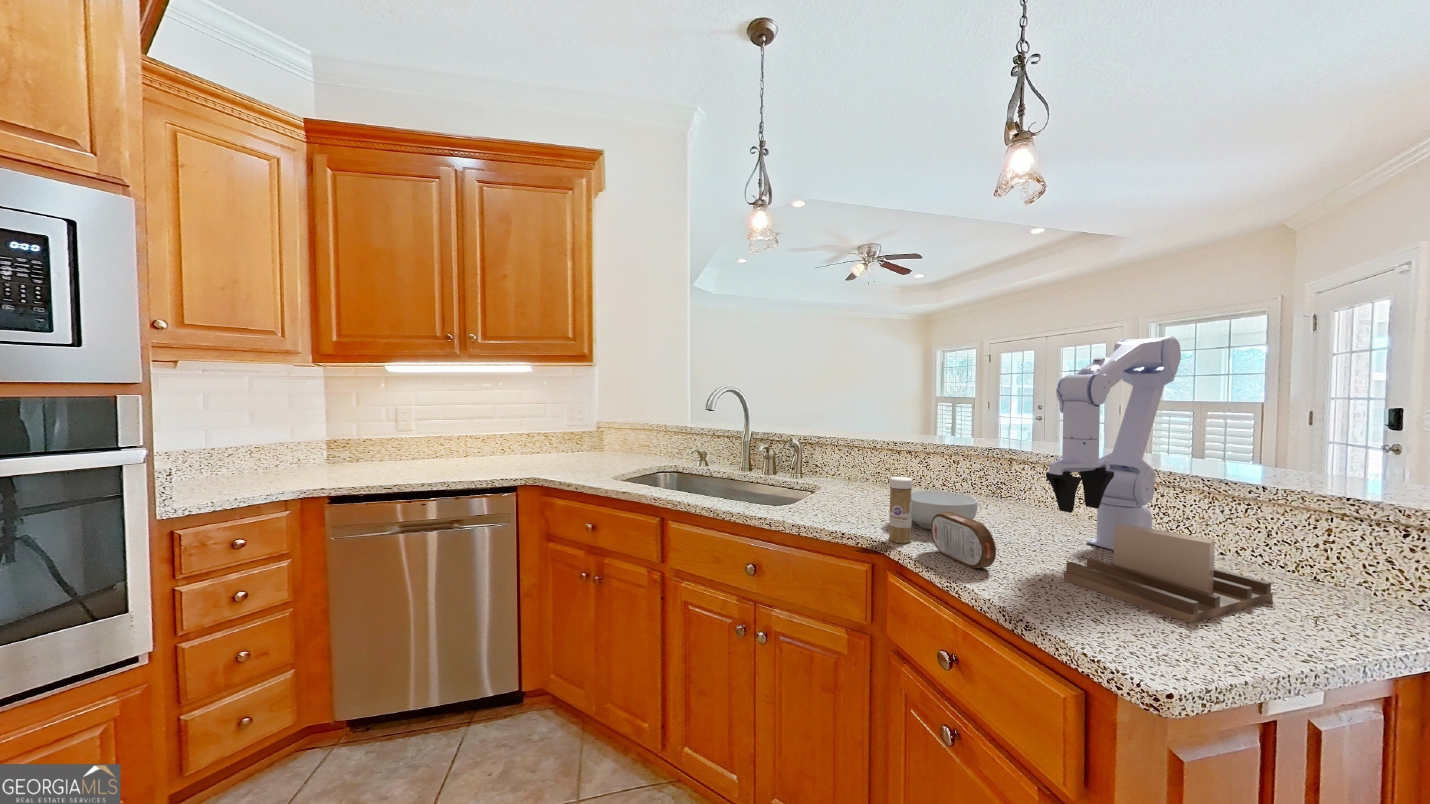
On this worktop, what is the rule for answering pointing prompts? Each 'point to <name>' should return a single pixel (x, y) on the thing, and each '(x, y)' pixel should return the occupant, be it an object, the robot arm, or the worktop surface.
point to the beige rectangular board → (1166, 555)
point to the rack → (1171, 590)
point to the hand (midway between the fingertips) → (1079, 509)
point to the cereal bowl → (940, 505)
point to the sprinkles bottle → (900, 509)
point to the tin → (963, 539)
